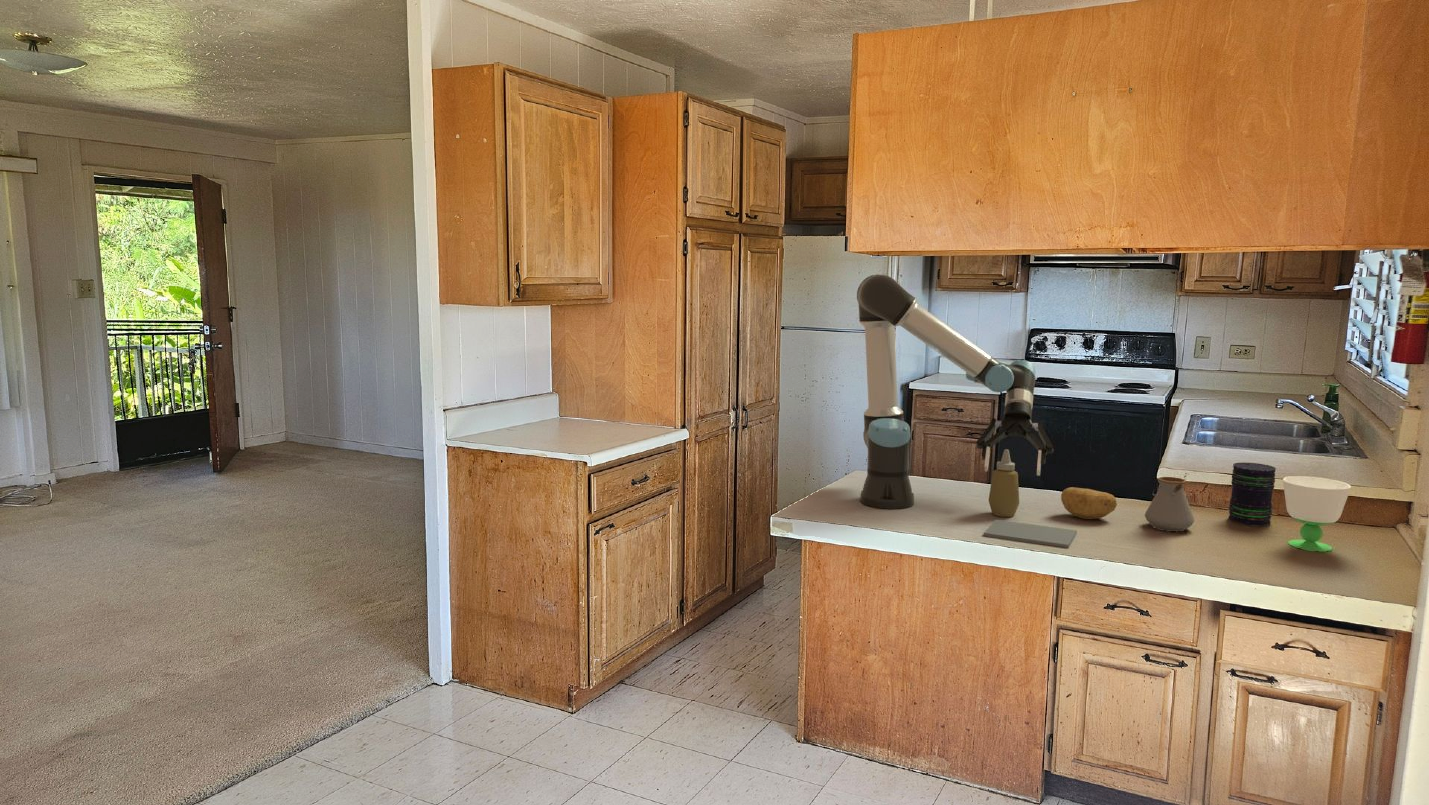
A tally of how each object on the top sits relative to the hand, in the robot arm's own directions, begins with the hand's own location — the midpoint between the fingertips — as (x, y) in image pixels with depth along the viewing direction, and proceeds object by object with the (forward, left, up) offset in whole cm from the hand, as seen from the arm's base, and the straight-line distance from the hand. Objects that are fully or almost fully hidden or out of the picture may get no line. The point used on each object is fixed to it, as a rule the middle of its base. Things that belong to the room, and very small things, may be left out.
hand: (1011, 471), depth 244 cm
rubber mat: (+16, -13, -12) cm, 24 cm away
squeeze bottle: (0, -3, -12) cm, 12 cm away
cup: (+60, +35, -12) cm, 71 cm away
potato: (+15, +13, -12) cm, 23 cm away
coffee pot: (+35, +18, -12) cm, 41 cm away
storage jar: (+41, +46, -12) cm, 63 cm away
